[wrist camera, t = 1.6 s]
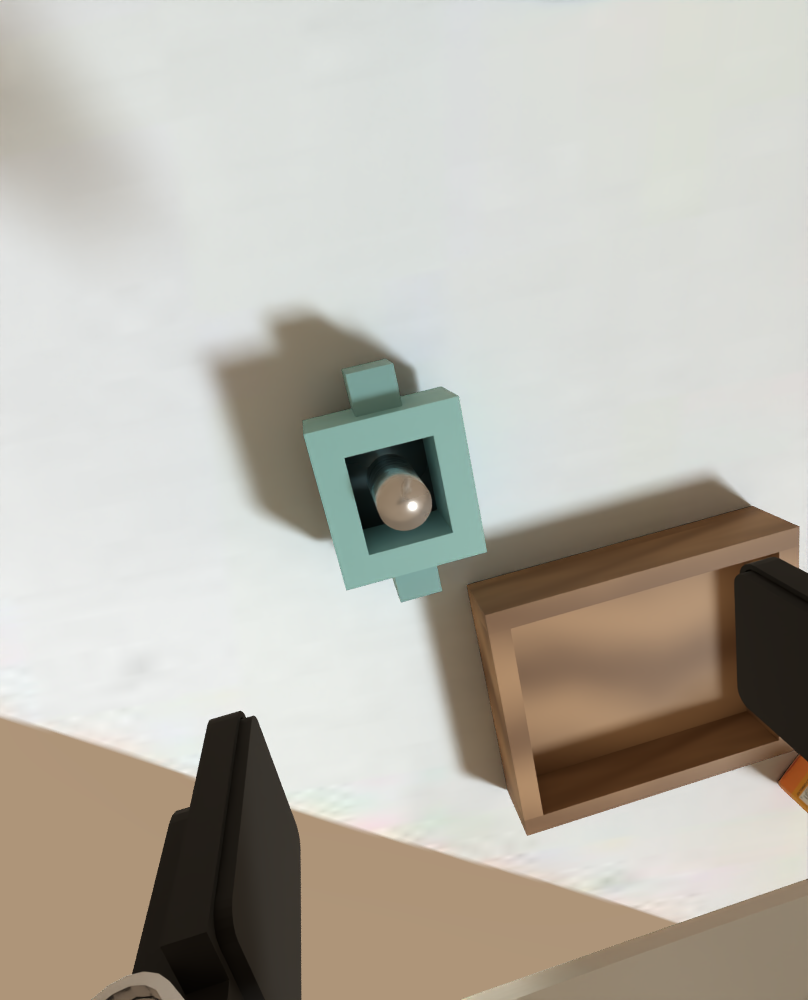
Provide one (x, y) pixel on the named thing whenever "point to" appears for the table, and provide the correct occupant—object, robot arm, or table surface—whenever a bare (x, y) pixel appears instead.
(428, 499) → the grey metallic peg stand
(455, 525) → the teal tabbed square frame
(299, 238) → the table surface
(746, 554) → the tray
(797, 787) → the supplement box
